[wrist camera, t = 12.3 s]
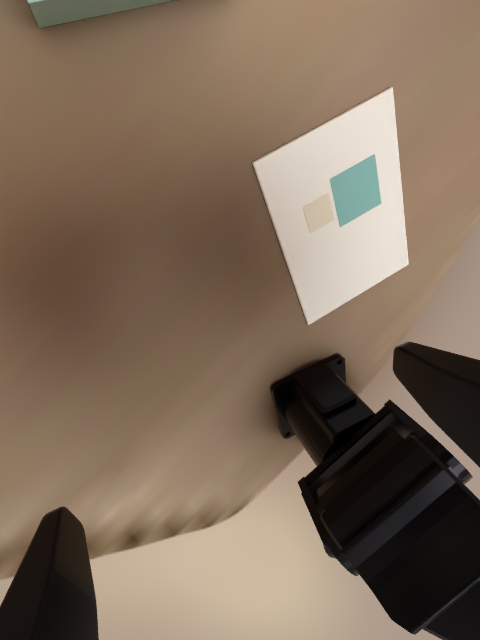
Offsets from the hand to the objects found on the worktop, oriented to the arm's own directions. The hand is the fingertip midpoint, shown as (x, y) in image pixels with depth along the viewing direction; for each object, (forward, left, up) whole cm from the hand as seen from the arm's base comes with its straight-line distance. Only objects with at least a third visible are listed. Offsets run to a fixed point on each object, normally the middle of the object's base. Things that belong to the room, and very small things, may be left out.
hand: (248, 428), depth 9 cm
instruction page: (-2, -12, -13) cm, 18 cm away
